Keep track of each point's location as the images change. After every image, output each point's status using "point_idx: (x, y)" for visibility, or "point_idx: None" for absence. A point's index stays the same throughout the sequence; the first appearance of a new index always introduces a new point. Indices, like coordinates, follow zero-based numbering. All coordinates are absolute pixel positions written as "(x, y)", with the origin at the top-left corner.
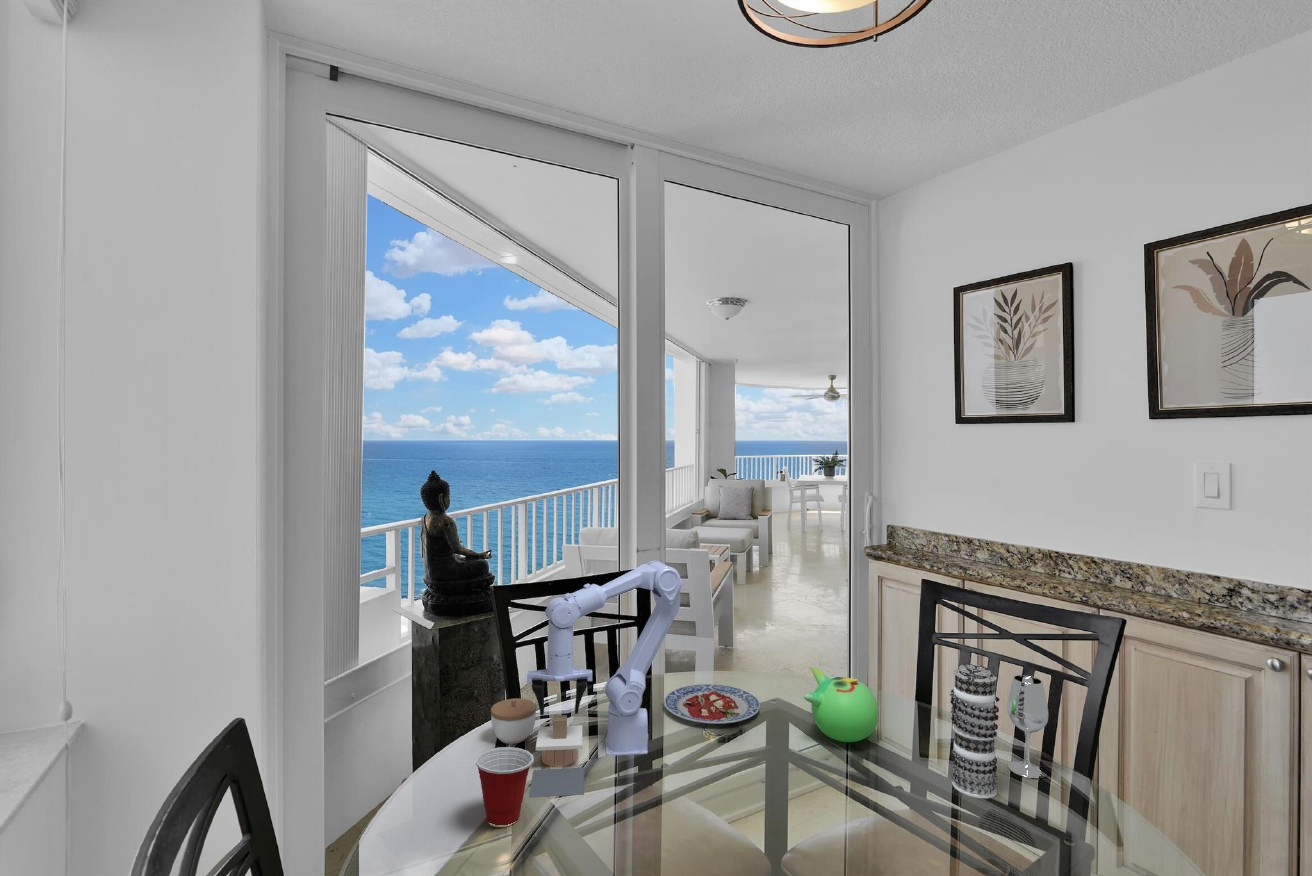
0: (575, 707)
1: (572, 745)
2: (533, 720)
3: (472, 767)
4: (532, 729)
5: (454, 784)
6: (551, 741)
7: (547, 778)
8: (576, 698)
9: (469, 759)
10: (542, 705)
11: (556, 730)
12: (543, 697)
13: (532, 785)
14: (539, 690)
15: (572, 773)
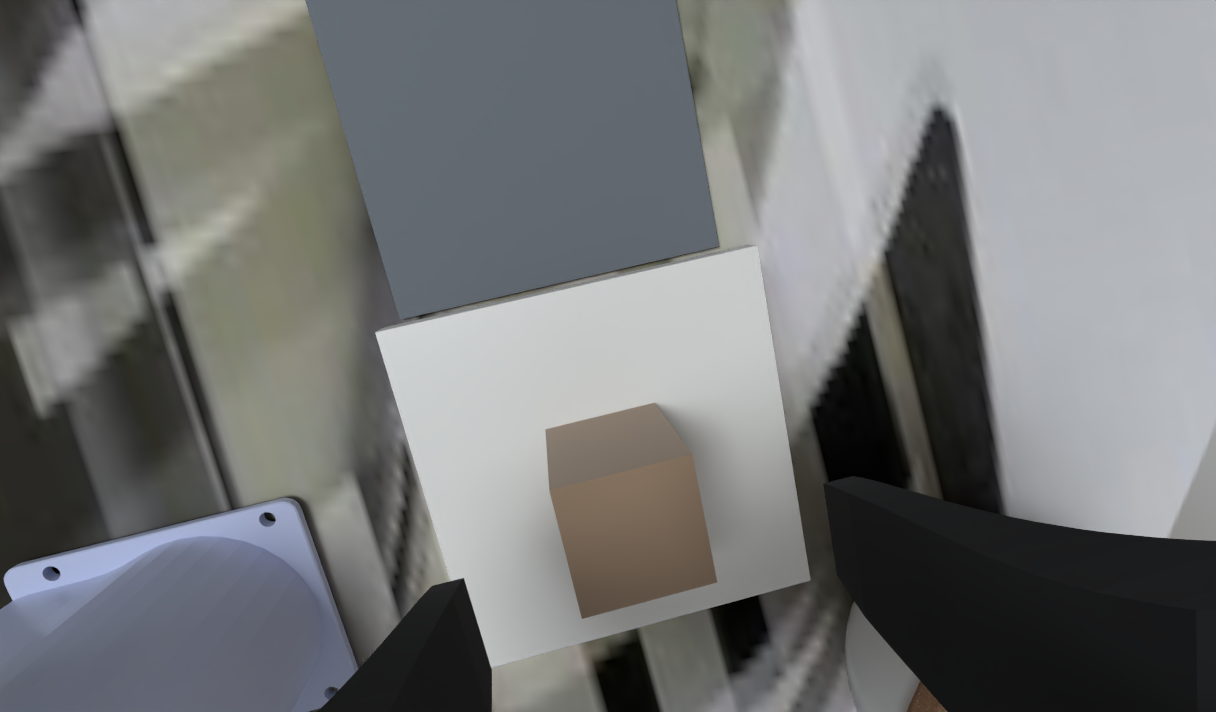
0: (437, 614)
1: (457, 313)
2: (875, 682)
3: (1072, 246)
4: (847, 645)
5: (1126, 38)
6: (655, 360)
7: (601, 146)
8: (385, 702)
9: (1107, 334)
10: (902, 510)
11: (637, 430)
12: (948, 694)
13: (673, 47)
14: (1199, 578)
15: (455, 229)
